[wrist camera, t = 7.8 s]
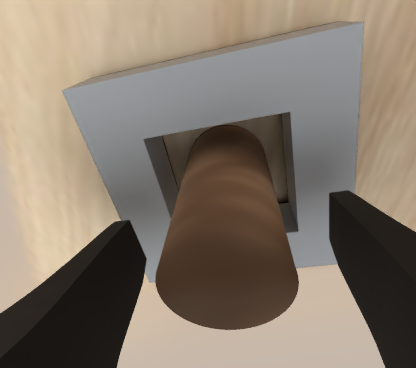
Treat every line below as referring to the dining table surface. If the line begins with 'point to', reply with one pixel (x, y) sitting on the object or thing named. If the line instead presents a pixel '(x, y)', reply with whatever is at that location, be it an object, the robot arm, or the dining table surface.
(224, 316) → the plug
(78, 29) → the dining table surface
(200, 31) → the dining table surface
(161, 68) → the socket block
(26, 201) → the dining table surface
